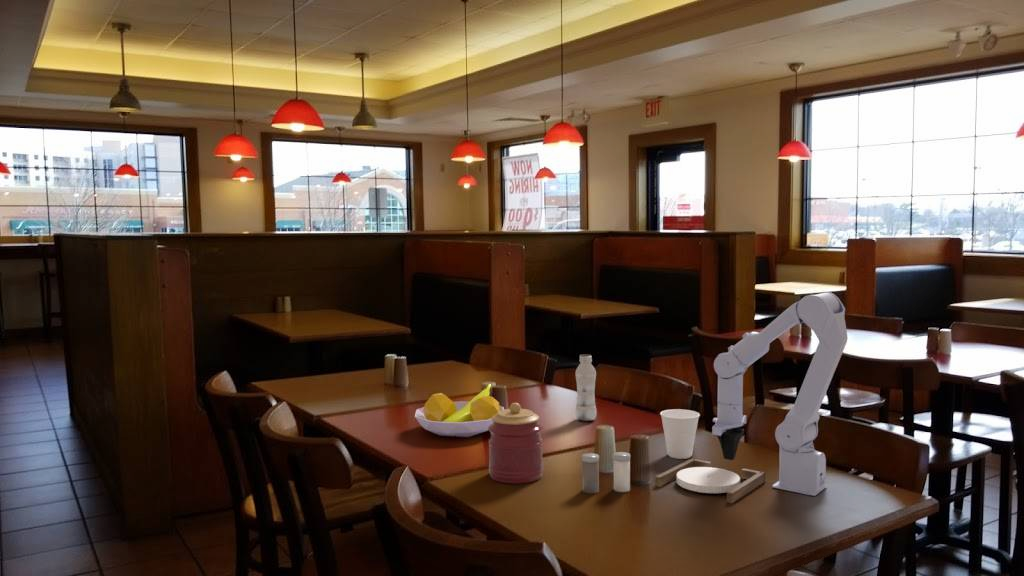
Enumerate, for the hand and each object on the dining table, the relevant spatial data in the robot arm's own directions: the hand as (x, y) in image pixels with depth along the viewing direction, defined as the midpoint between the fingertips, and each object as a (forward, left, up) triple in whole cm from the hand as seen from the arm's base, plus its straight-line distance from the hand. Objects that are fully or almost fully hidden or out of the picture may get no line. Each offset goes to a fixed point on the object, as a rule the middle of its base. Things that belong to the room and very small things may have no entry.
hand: (729, 458), depth 186 cm
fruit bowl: (+78, +10, -4) cm, 79 cm away
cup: (+16, -5, -4) cm, 17 cm away
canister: (+39, +33, -4) cm, 51 cm away
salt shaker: (+14, +26, -3) cm, 29 cm away
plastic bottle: (+56, -21, -4) cm, 60 cm away
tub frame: (0, +11, -3) cm, 11 cm away
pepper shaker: (+19, +31, -3) cm, 36 cm away
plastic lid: (0, +12, -4) cm, 12 cm away
